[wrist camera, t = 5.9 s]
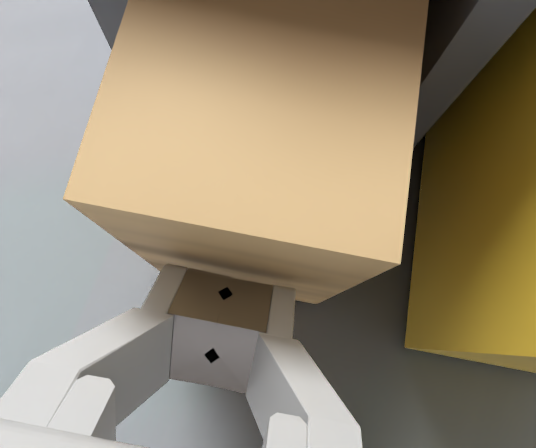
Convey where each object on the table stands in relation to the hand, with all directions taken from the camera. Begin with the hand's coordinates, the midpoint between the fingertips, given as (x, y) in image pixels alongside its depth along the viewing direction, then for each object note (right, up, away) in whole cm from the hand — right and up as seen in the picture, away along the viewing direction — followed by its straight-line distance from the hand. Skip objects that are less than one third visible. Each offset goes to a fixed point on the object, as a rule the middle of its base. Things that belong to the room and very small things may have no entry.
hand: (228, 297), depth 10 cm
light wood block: (+1, +3, +5) cm, 6 cm away
